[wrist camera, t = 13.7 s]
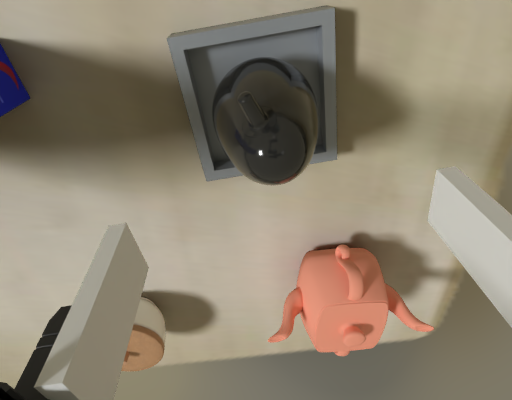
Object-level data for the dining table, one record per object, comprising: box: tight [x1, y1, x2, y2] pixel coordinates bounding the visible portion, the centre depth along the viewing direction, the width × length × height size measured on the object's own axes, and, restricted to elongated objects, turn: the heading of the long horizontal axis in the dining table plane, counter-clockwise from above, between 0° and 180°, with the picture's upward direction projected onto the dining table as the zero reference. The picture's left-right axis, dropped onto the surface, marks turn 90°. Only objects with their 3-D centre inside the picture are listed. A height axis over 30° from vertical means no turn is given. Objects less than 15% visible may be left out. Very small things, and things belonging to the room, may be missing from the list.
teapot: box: [268, 244, 434, 356], centre depth 48 cm, size 15×17×13 cm
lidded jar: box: [121, 297, 166, 371], centre depth 51 cm, size 11×11×9 cm
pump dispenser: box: [212, 57, 319, 185], centre depth 30 cm, size 10×10×15 cm
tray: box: [167, 6, 337, 181], centre depth 35 cm, size 15×15×3 cm
